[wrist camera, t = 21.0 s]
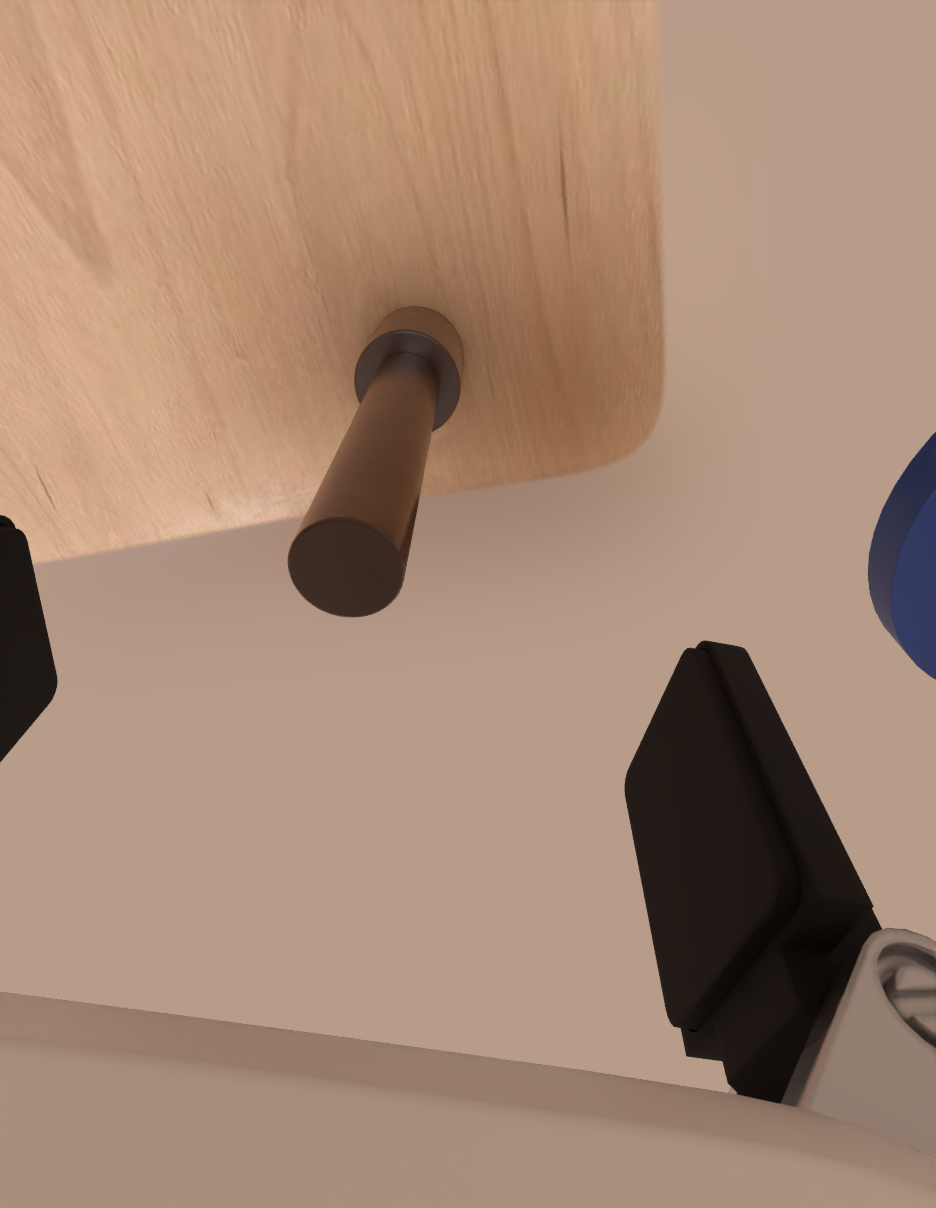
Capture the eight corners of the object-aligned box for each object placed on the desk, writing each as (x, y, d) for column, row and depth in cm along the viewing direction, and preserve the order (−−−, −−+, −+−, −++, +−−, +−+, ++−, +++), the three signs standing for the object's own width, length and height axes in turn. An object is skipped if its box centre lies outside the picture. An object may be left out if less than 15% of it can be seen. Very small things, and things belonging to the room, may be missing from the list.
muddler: (472, 319, 25) (460, 506, 12) (452, 411, 27) (421, 661, 14) (378, 295, 24) (253, 461, 11) (364, 390, 26) (245, 627, 13)
